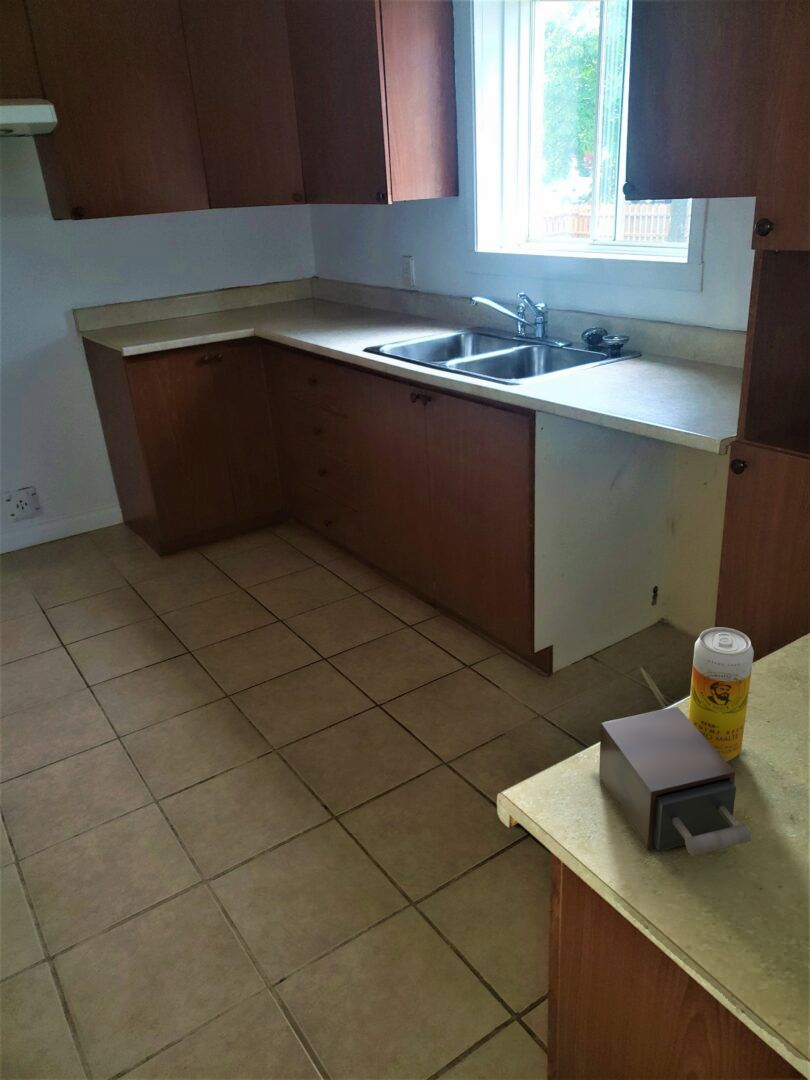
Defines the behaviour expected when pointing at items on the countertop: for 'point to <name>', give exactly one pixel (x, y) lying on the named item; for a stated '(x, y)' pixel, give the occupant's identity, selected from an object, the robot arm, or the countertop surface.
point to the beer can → (721, 688)
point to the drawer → (698, 818)
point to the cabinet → (655, 763)
